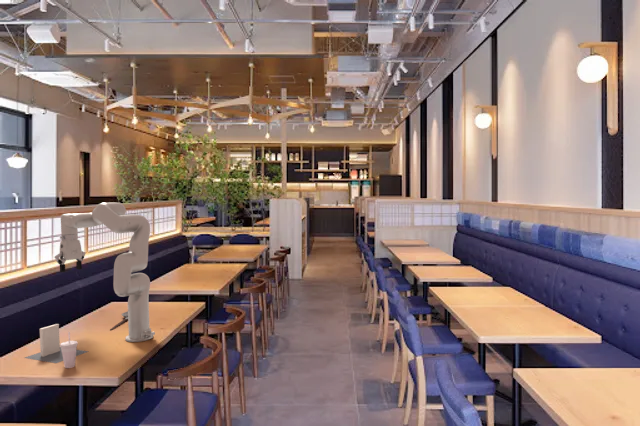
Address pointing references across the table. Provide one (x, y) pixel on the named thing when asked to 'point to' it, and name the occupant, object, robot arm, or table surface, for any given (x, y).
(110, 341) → the table surface
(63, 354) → the smoothie
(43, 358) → the mat
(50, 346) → the tile
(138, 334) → the robot arm
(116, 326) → the spoon
